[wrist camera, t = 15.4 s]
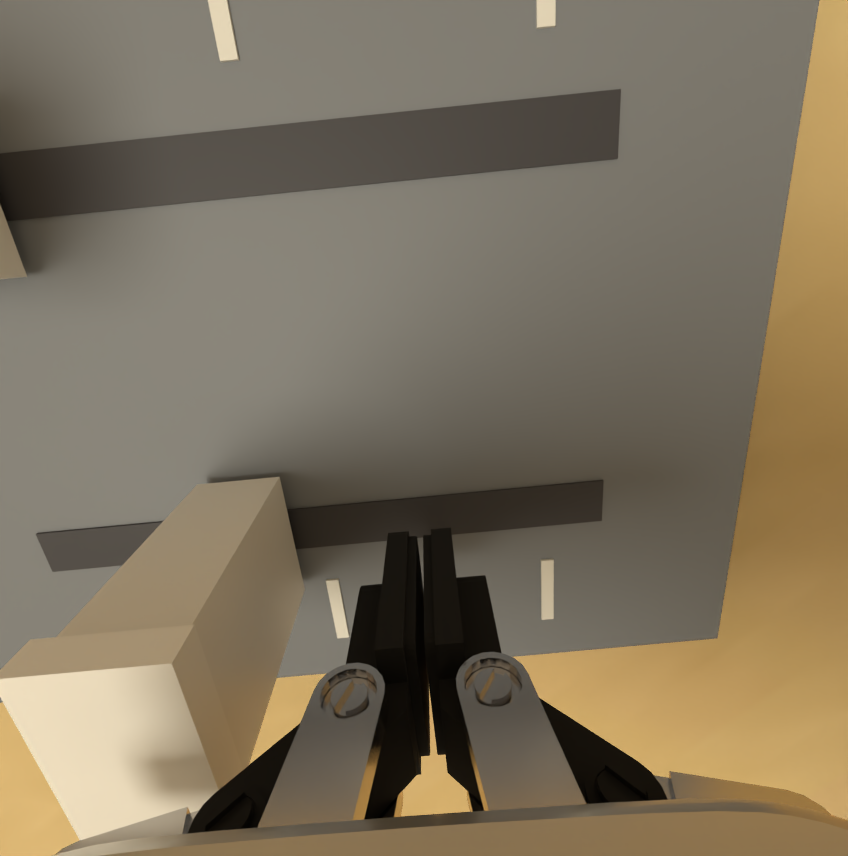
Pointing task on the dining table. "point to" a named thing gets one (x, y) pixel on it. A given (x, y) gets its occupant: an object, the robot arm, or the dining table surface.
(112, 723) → the fader cream
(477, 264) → the panel
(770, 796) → the robot arm
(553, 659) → the dining table surface
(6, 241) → the fader orange
